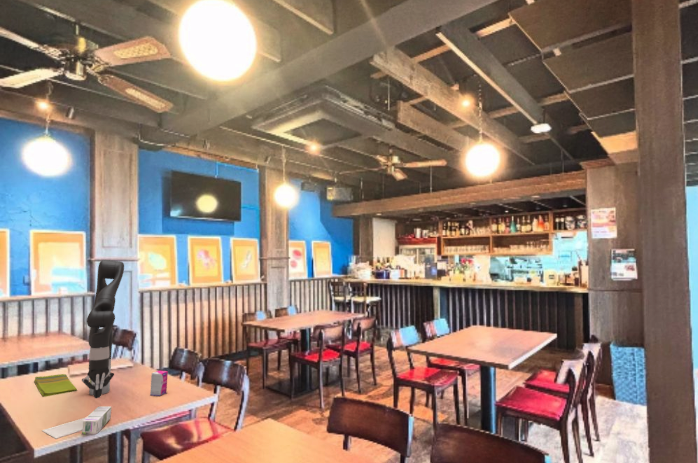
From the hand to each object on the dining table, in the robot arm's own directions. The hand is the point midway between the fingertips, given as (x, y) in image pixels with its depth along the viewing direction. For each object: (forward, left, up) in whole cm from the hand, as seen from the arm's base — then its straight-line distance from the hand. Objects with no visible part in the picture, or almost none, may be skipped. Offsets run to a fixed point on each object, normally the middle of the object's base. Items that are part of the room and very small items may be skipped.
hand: (97, 397), depth 177 cm
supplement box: (-11, +36, -10) cm, 39 cm away
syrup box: (+2, +3, -7) cm, 7 cm away
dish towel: (-71, +12, -11) cm, 73 cm away
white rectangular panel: (-1, -8, -10) cm, 13 cm away
